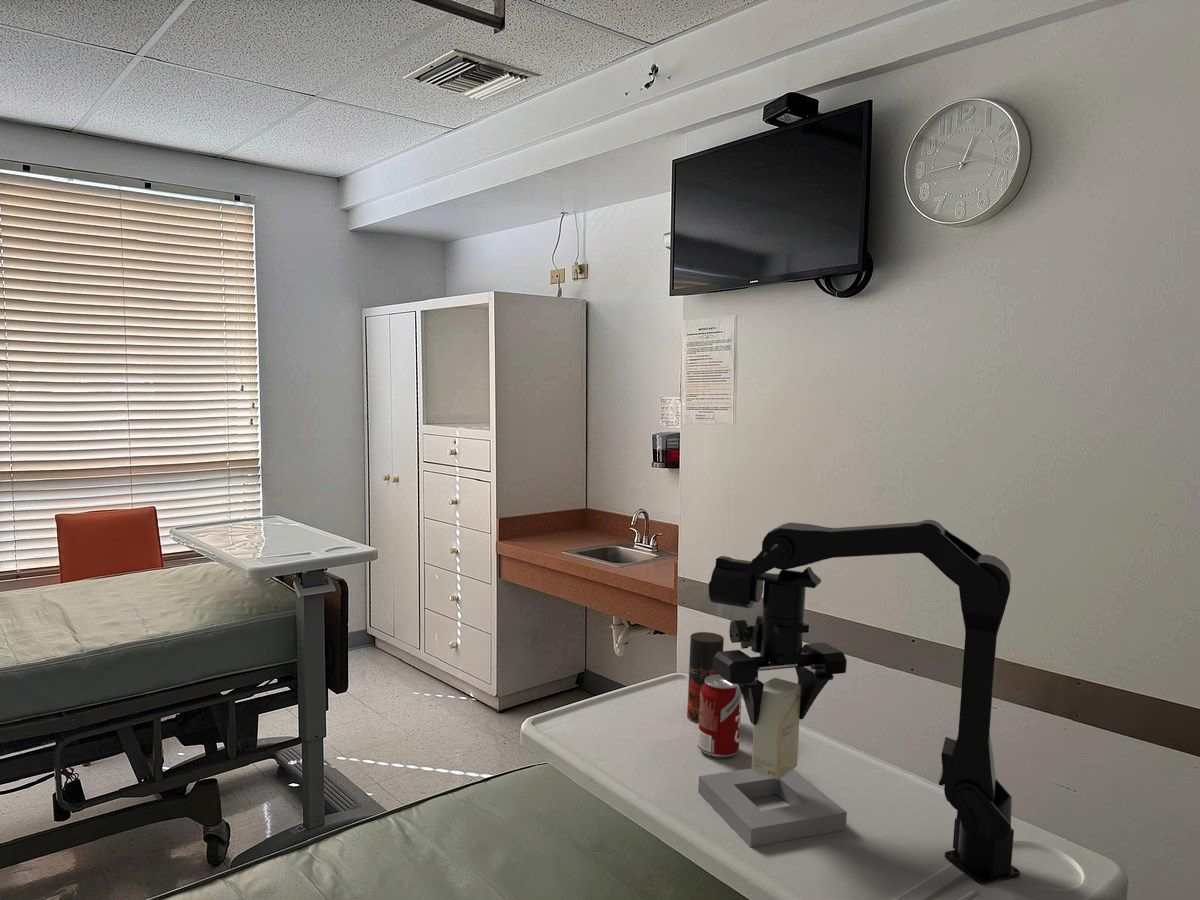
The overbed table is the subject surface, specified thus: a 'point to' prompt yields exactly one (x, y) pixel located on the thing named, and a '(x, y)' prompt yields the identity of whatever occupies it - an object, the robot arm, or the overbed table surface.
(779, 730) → the skincare box
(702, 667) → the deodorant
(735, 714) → the soda can
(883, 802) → the overbed table surface
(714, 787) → the socket holder
